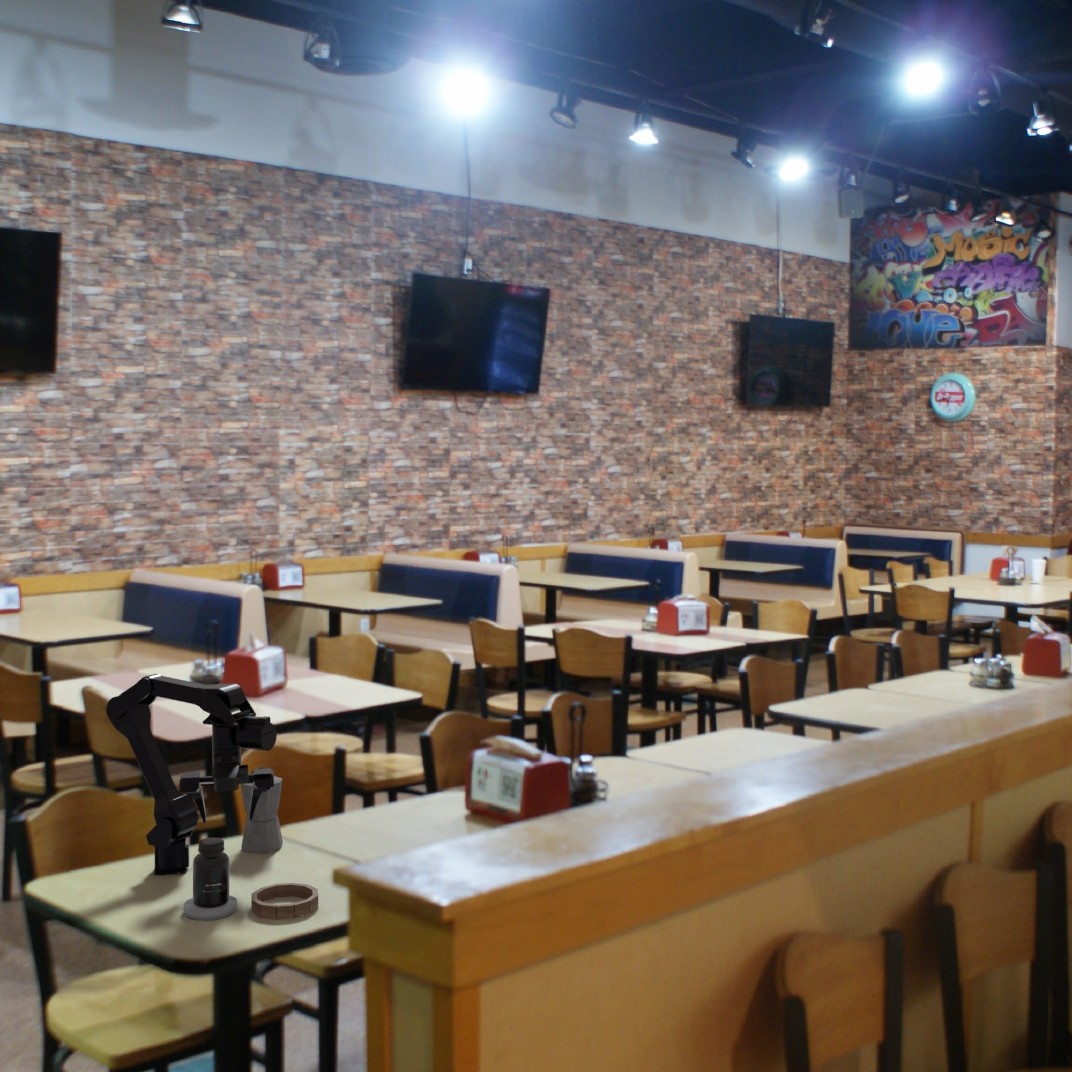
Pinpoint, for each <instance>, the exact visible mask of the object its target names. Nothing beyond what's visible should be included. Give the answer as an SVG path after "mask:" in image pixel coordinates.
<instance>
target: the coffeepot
mask: <svg viewBox="0 0 1072 1072" xmlns="http://www.w3.org/2000/svg"><path fill="white" fill-rule="evenodd" d="M264 768H265V767H263V766H260V767H258V768H257V769H264ZM250 774H254V770H252V771H251V773H250ZM282 785H283V778H282V777H278V776H276V775H274V787H272V788H267V789H268V790H267V791H266V792H262V794H261V795H260V797H259V800H258V802H257V805H256V808H255V811H254V814H253V818H252V820H250V805H251V796H252V788H253V783H247V784H239V786H240V789H241V790H240V791H241V797H242V802H243V808H244V812H246V819H245V822H244V829H243V835H242V839H241V840H242V842H241V849H242V850H243V851H244V850H245V851H244V852H247V851H248V852H247V853H251V852H253V854H262V853H263V854H264V852H266V853H271V851H272V852H275V851H278V850H280V849H281V848H282V847H281V846H283V843H284V842H283V836H282V830H281V825H280V820H279V819H280V818H279V816H278V809H279V807H280V801H281V794H282ZM254 852H255V853H254ZM256 852H257V853H256Z"/></svg>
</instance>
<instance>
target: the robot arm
mask: <svg viewBox="0 0 1072 1072" xmlns="http://www.w3.org/2000/svg"><path fill="white" fill-rule="evenodd" d="M157 698H163V699H167V700H172V701H176V702H181V703H186V704H191V705H195V706H197V707H198V708H200V709H201V710H202V711H203V712H205V713H207V714H208V716H207V717H206V718H205V719H204V720H203V721H202V724H203V725H207V726H208V725H210V726H211V729H212V730H211V735H212V736H211V739H212V742H211V744H212V745H211V746H212V768H211V775H206V776H201V771H190V772H187V771H186V772H183V773H182V774H181V775H180V778H179V782H178V783H179V788H177V786H176V784H175V781H174V779H173V777H172V775H171V773H170V770H169V769H168V766H167V764H166V762H165V759H164V757H163V755H162V752H161V751H160V748H159V745H158V744H157V742H156V740H155V737H154V734H153V733H152V730H151V719H152V718H151V717H152V713H151V710H150V705H152V704H153V703H154V702H155V701H156V699H157ZM235 712H236V713H235ZM105 713H106V717H107V718H108V719H109V722H110V723H111V725H112V726H113V728H114V729H115V730H116V731H117V732H118V733H120V734H121V735H122V736H123V737H125V738H126V739H127V741H128V743H129V745H130V747H131V749H132V753H133V755H134V757H135V759H136V761H137V764H138V765H139V768H140V771H141V772H142V776H143V777H144V779H145V781H146V783H147V786H148V788H149V791H150V793H151V795H152V797H153V800H154V807H153V818H154V821H155V825H154V826H153V827H152V829H151V830H150V831H149V832H148V833H147V834H146V835H145V838H146V841H147V843H148V844H147V845H148V846H153V847H154V852H153V853H154V870H153V875H172V874H182V873H184V874H185V873H187V868H189V867H190V845H189V843H188V844H187V838H190V837H192V836H193V832H194V829H195V828H196V826H197V824H198V821H199V819H200V817H199V815H200V816H201V819H202V823H203V824H206V823H207V812H206V806H205V798H204V792H203V787H206V786H208V787H209V786H213V789H214V791H215V792H218V793H219V792H223V791H231V792H235V791H237V790H239V788H240V784H247V783H253V788H252V796H251V805H250V820H252V818H253V814H254V811H255V808H256V805H257V802H258V800H259V797H260V795H261V794H262V792H266V791H267V790H268V789H267V788H272V787H274V776H275V774H274V770H273V769H272V768H270V767H269V768H268V767H267V768H266V767H263V768H264V769H258V768H254V769H253V771H254V774H251V773H249V764H242V749H243V750H253V751H255V750H256V751H264V752H269V751H271V750H273V748H274V746H275V745H276V741H277V737H278V734H277V733H278V732H277V730H276V727H275V725H274V723H272V722H271V717H270V716H257V713H256V711H255V710H254V708H253V706H252V705H251V703H250V701H249V700H248V698H247V696H246V695H245V693H244V690H243V689H242V686H241V685H239V684H237V683H216V684H205V683H198V682H194V681H189V680H183V679H179V678H175V677H170V676H164V675H162V674H160V673H153V674H149V675H145V676H143V677H141V679H139V680H138V681H137V682H136V683H135V684H133V685H132V686H130V687H129V688H127V689H126V690H125V691H123V692H121V693H120V694H118V695H116V696H114V697H111V698H110V699H109V700H108V702H107V704H106V707H105ZM183 793H185V794H183ZM198 812H199V813H200V814H198Z"/></svg>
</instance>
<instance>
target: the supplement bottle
mask: <svg viewBox="0 0 1072 1072" xmlns="http://www.w3.org/2000/svg"><path fill="white" fill-rule="evenodd" d="M197 845H198V846H197V847H198V849H197V852H198V854H196V856H195V857H194V858H193V861H192V898H193V903H194V904H195V905H196V906H198V907H203V908H213V907H219V906H222V905H224V904H226V903H227V902H228V901H229V895H230V856H229V855H228V854H227V853H226V852H224V851H225V840H224V839H223V838H219V837H207V838H203V839H201V840H199V841H198V844H197Z"/></svg>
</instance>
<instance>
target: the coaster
mask: <svg viewBox="0 0 1072 1072" xmlns="http://www.w3.org/2000/svg"><path fill="white" fill-rule="evenodd" d="M182 907H183V916H184V915H185V917H186V918H187V919H190V920H195V921H215V920H220V919H225V918H227V917H230V916H233V914H235V913H236V912H237V911H238V899H237V897H235V896H233V895H230V894H229V901H228V902H227V903H226V904H224V905H222V906H219V907H213V908H203V907H198V906H196V905H195V904H194V903H193V897H191V898H190V899H188V900H186V901H185V902H184V903H183V905H182Z"/></svg>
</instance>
